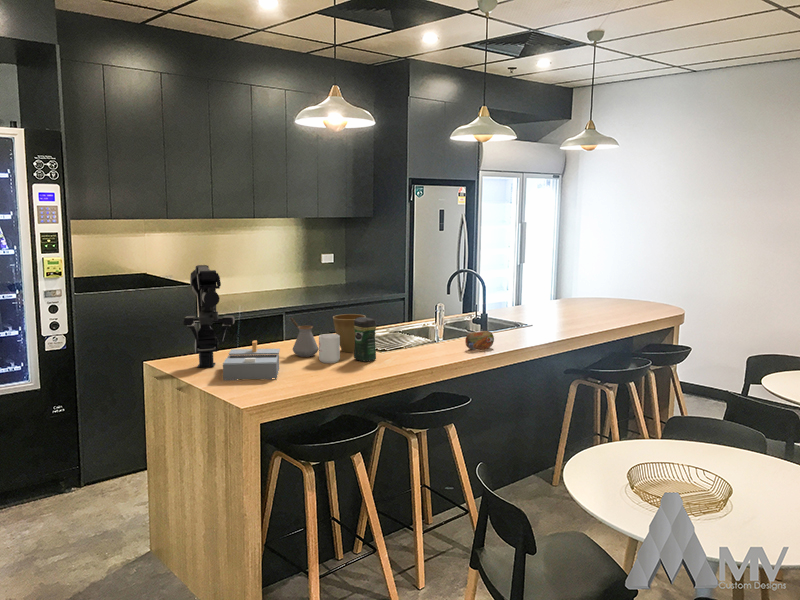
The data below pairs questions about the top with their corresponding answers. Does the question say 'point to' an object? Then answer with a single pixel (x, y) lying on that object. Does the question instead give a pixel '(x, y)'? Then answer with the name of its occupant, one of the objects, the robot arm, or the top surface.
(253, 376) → the carton
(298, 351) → the coffee pot
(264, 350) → the lid
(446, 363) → the top surface
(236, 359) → the lid
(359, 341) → the coffee jar
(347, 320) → the plant pot
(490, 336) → the tin
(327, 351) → the mug
